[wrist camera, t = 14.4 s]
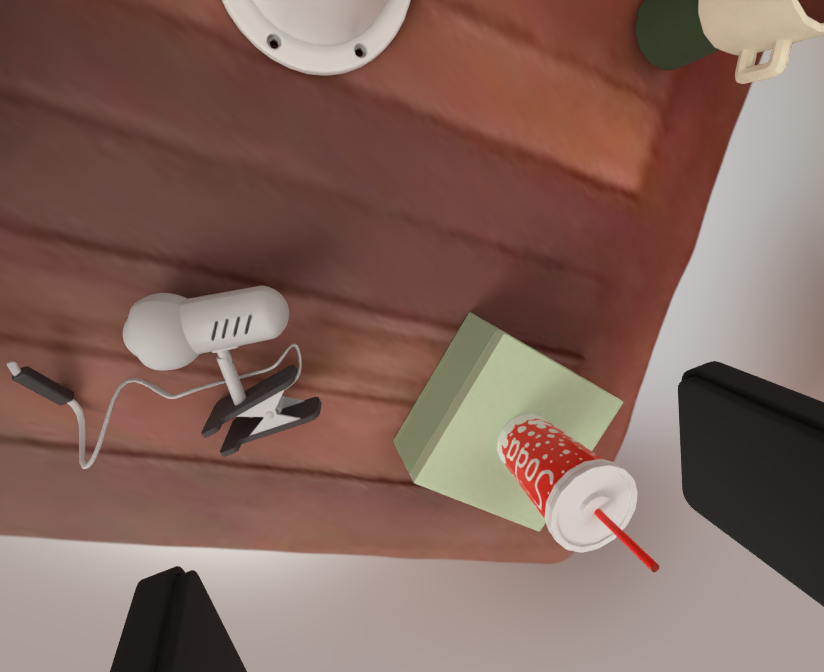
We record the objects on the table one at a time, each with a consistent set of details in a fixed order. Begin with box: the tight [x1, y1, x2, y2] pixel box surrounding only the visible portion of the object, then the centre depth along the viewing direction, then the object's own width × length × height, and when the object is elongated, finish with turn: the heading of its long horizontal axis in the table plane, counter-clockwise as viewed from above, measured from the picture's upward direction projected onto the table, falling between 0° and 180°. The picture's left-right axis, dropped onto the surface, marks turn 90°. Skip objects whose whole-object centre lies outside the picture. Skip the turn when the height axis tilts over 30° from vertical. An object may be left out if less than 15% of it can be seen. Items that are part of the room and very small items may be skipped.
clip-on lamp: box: [6, 285, 321, 469], centre depth 34 cm, size 12×6×18 cm
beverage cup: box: [497, 413, 659, 572], centre depth 32 cm, size 6×6×14 cm
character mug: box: [635, 0, 824, 84], centre depth 33 cm, size 11×7×13 cm, turn 176°
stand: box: [393, 312, 623, 531], centre depth 42 cm, size 13×13×7 cm
